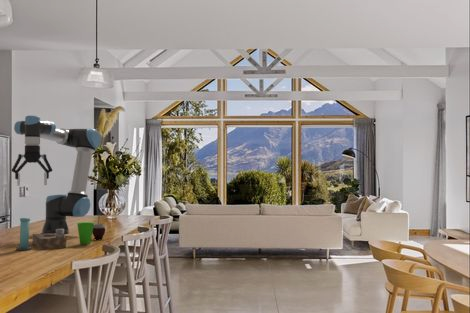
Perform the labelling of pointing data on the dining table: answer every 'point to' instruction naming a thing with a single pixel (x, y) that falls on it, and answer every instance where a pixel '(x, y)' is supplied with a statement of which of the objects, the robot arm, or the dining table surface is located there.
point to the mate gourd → (98, 230)
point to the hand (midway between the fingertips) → (32, 185)
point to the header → (50, 240)
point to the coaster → (23, 249)
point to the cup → (85, 232)
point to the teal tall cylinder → (24, 232)
